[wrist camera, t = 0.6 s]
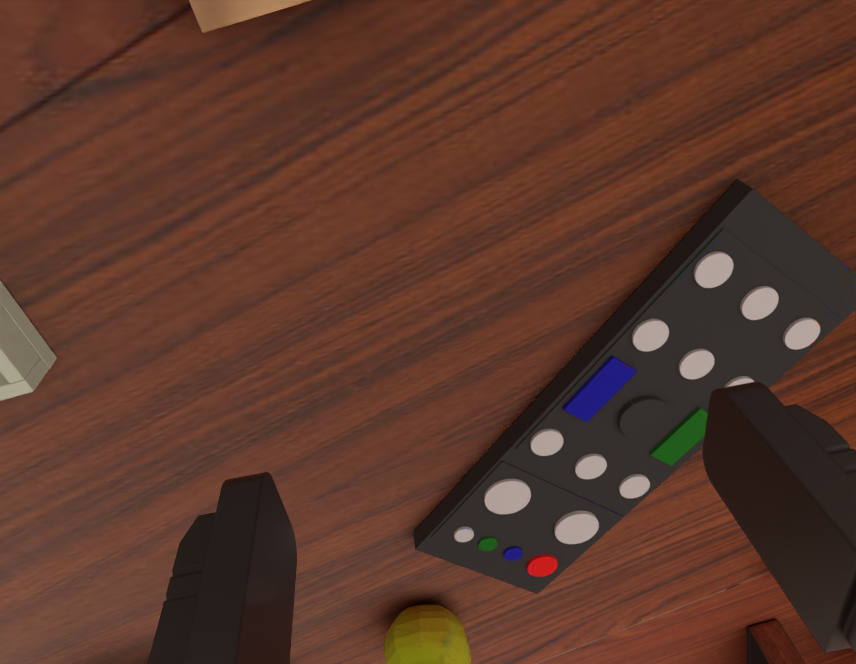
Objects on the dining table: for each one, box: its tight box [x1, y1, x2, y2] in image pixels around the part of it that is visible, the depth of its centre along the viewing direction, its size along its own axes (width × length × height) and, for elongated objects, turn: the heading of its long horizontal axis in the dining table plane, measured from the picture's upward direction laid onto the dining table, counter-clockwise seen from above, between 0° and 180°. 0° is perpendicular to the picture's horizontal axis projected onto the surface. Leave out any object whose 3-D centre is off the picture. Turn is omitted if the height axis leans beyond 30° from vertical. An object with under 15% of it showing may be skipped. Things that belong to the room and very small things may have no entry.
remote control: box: [414, 179, 856, 594], centre depth 39 cm, size 11×30×2 cm, turn 146°
